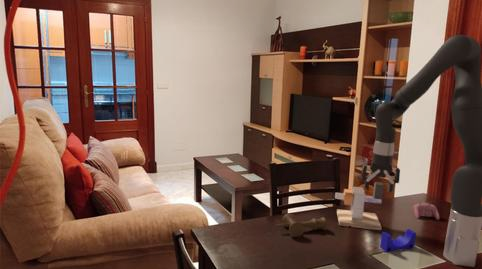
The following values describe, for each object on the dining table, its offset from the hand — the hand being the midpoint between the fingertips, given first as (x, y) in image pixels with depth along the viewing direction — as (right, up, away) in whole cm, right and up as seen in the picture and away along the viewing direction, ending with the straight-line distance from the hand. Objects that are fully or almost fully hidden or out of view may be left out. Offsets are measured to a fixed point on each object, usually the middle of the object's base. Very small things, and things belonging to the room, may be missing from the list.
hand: (378, 190), depth 142 cm
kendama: (-33, -15, -7) cm, 36 cm away
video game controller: (+25, -13, +11) cm, 30 cm away
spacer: (-12, -5, +3) cm, 13 cm away
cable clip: (0, -18, -16) cm, 24 cm away
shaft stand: (-7, -13, +4) cm, 15 cm away
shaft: (-8, -4, +2) cm, 9 cm away
